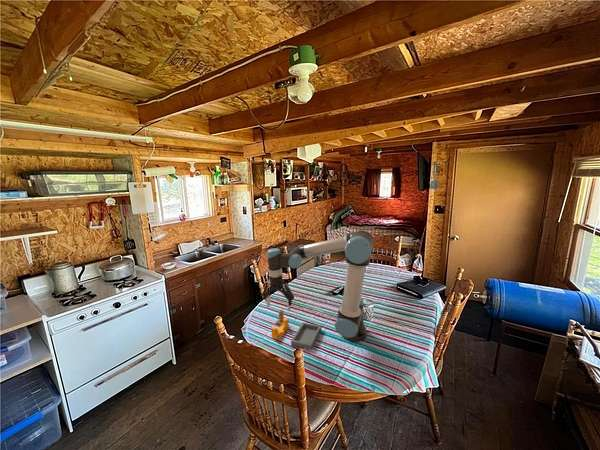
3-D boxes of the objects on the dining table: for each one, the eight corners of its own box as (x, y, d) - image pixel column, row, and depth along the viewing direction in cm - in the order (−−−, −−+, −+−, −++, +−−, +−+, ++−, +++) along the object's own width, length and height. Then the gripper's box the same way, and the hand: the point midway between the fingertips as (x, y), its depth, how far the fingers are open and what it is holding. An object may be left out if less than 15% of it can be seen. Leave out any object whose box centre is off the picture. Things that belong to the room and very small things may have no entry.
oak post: (287, 320, 162) (287, 309, 160) (283, 325, 156) (283, 314, 155) (279, 318, 164) (278, 308, 162) (275, 324, 159) (274, 313, 157)
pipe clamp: (277, 340, 144) (276, 330, 142) (272, 337, 146) (271, 327, 145) (290, 329, 153) (289, 320, 151) (285, 326, 155) (284, 317, 154)
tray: (321, 330, 150) (321, 325, 149) (311, 350, 134) (311, 345, 133) (303, 326, 154) (302, 322, 154) (291, 345, 138) (290, 340, 138)
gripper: (298, 274, 140) (300, 307, 145) (260, 270, 149) (263, 302, 154) (293, 280, 133) (295, 315, 138) (253, 275, 142) (257, 308, 147)
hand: (278, 308), depth 146 cm, fingers open, 13 cm apart
